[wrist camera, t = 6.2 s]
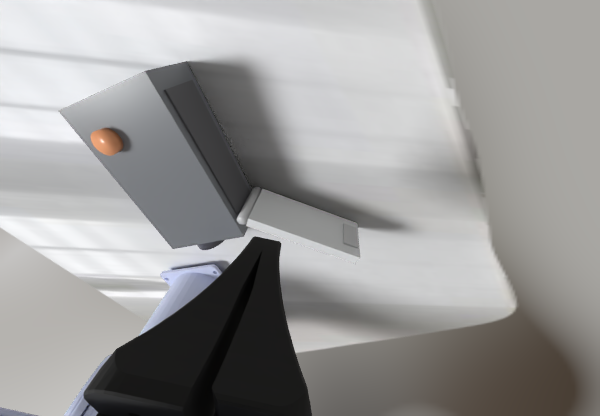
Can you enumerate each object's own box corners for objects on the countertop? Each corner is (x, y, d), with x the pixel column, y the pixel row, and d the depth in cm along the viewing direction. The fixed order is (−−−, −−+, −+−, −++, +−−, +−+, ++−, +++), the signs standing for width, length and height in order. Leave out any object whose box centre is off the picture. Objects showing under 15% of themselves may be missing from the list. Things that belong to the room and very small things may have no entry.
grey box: (265, 213, 24) (249, 252, 20) (203, 226, 26) (177, 263, 22) (188, 60, 17) (139, 71, 13) (112, 94, 19) (49, 113, 15)
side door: (251, 193, 22) (235, 223, 19) (254, 183, 22) (238, 213, 18) (352, 230, 23) (354, 265, 20) (358, 222, 23) (361, 256, 19)
